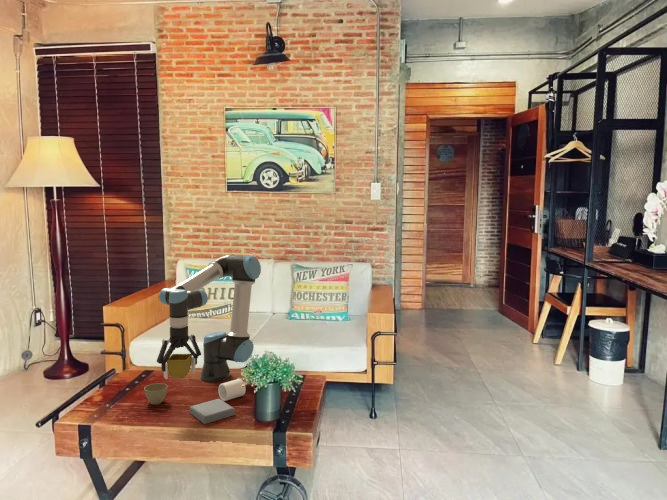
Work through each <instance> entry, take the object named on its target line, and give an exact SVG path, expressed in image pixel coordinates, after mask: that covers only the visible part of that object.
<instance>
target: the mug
mask: <svg viewBox="0 0 667 500" xmlns="http://www.w3.org/2000/svg"><path fill="white" fill-rule="evenodd" d="M242 384H245V382H244V381H243V379H241V378H237V379H233V380H230V381H226V382H223V383H220V384H219V385H218V391H217V392H218V395H219V399H221V400H222V401H224V402H227V401H229V400H235V399H237V398H240V397H243V396H245V394H246V385H245V386H244V387H241V385H242Z"/></svg>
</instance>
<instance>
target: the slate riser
mask: <svg viewBox="0 0 667 500" xmlns="http://www.w3.org/2000/svg"><path fill="white" fill-rule="evenodd" d="M235 410H236V409H235V408H234V407H233V406H231V405H230V404H228V403H226V401H223V400H221V398H216V399H213V400H209V401H205V402H201V403H198V404H194V405H191V406H189V414H191V415H192V416H193V417H195V418H196V419H197V420H199V422H201V423H202V424H204V425H207V424H210V423H212V422H216V421H219V420H222V419H225V418H228V417H231V416H232V417H233V416H235V415H236V414H235V413H236V412H235Z"/></svg>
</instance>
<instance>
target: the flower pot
mask: <svg viewBox="0 0 667 500" xmlns="http://www.w3.org/2000/svg"><path fill="white" fill-rule="evenodd" d="M192 357H193V356H192V354H191V353H173V354H171V355H170V357H169V359H168V360H167V362H166V363H167V364H168V375H169V376H170V377H171V378H172V379H175V380H176V379H185V378H186V377H187V376H188V375H189V372H190V371H191V361H192Z"/></svg>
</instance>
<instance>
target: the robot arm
mask: <svg viewBox="0 0 667 500" xmlns="http://www.w3.org/2000/svg"><path fill="white" fill-rule="evenodd" d="M261 273H262V266H261V263H260V261H259V259H258V258H257V257H255V256H254V255H249V254H247V255H242V254H226V255H223V256H219V257H218V258H217V259H214V260H212V261H211V262H209V263H208V265H207V267H205V268H203V269H201V270H199V271H198V272H197V273H194V274H193V275H191V276H190V277H188V278H186V279H185V280H183V281H181V282H180V283H178V284H176V285H175V286H172V287H166V288H165V287H164V288H162V289H161V290H160V292H159V294H158V299H159V302H160V303H161V304H163V305H167V306H169V307H168V309H169V326H170V327H169V339H164V338H163V339H162V340H161V341H162V345H161V347H160V350H159V354H158V356H157V358H156V362H157V363H158V364H160V365H161V366H160V367H161V371H162V372H163V378H164V379H165V380H168V378H169V372H168V364H167V360H168V359H169V357H170V356H171V355H172V353H174V351H175V350H176V349H179V348H184V347H185V348H186V349H187V351H188V352H189V354H192V361H191V368H190V372H192V373H193V374H195V373H196V365H198V358H199V356H201V355H202V352H201V350H200V347H199V346H198V343H197V340H196V339H197V338H196V335H194V334H191V335H189V326H188V325H189V311H190V310H194V309H197V308H198V309H199V308H201V307H204V306H206V305H207V303H208V300H209V296H208V294H207V292H206V291H205V290H203V288H204V287H206V286H208V285H209V284H210V283H212V282H214V281H215V280H220V279H222V278H225V277H226V278H227V277H230V278H232V279H231V281H232V282H233V284H234V290H233V297H232V298H233V301H232V308H231V309H232V310H231V317H230V318H231V320H230V328H229V332H228V333H227V332H225V331H217V332H210V333H207V334H206V335H204V337H203V342H202V344H203V345H202V346H203V365H202V368H201V371H200V379H201V380H202V381H205V382H209V383H210V382H212V383H214V382H221V381H225V380H227V379H229V378H230V377H231V369H230V367H229V365H228V361H231V362H235V363H245V362H247V361H248V360H250V358H251V356H252V354H253V352H254V343H253V340H251V339H250V337H251V336H250V335H251V334H249V332H248V327H249V326H248V325H249V316H250V306H251V297H252V296H251V295H252V288H253V287H252V286H253V285H254V284H255V283H256V279H258V278H259V277H260V275H261ZM188 341H190V342H191V345H192V346H193V348H192V347H191V346H190V345H189V343H188ZM169 343H170V345H169ZM168 345H169V347H168ZM167 347H168V349H167Z"/></svg>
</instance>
